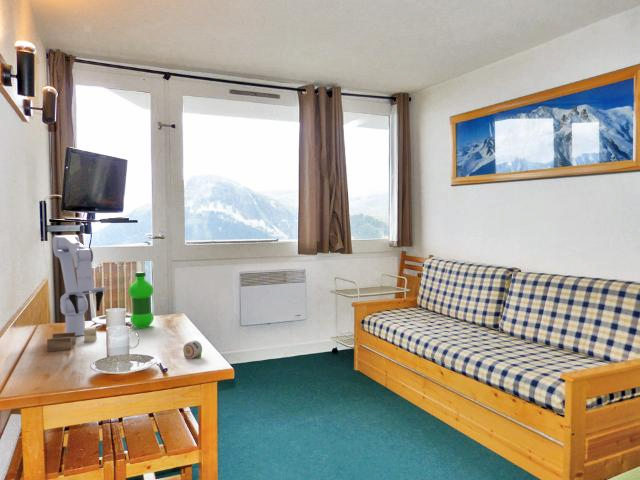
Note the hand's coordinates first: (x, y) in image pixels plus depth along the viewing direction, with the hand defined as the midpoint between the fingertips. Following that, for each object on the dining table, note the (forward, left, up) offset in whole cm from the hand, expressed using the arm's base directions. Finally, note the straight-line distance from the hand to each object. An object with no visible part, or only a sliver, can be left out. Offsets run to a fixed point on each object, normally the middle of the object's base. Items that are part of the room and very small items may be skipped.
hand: (87, 312), depth 198 cm
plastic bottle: (-23, +19, -13) cm, 32 cm away
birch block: (-4, 0, -12) cm, 13 cm away
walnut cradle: (+4, -9, -12) cm, 16 cm away
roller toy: (+37, +39, -13) cm, 56 cm away
